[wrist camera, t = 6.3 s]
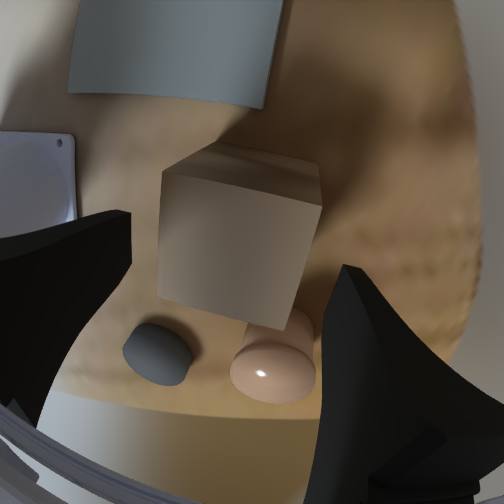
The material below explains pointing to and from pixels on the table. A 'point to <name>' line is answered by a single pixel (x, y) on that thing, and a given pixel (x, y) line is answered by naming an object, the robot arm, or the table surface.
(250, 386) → the pink dome knob
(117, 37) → the slate tile
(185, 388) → the table surface
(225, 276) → the walnut block
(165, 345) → the rubber puck
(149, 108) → the table surface
